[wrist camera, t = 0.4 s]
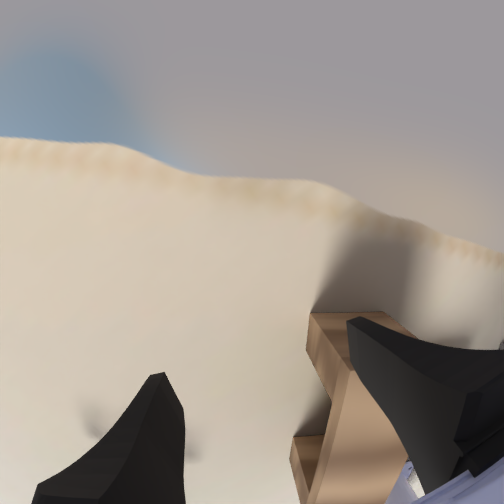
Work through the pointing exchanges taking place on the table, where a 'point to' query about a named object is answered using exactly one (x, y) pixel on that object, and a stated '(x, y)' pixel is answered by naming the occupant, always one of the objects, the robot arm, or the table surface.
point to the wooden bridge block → (346, 425)
